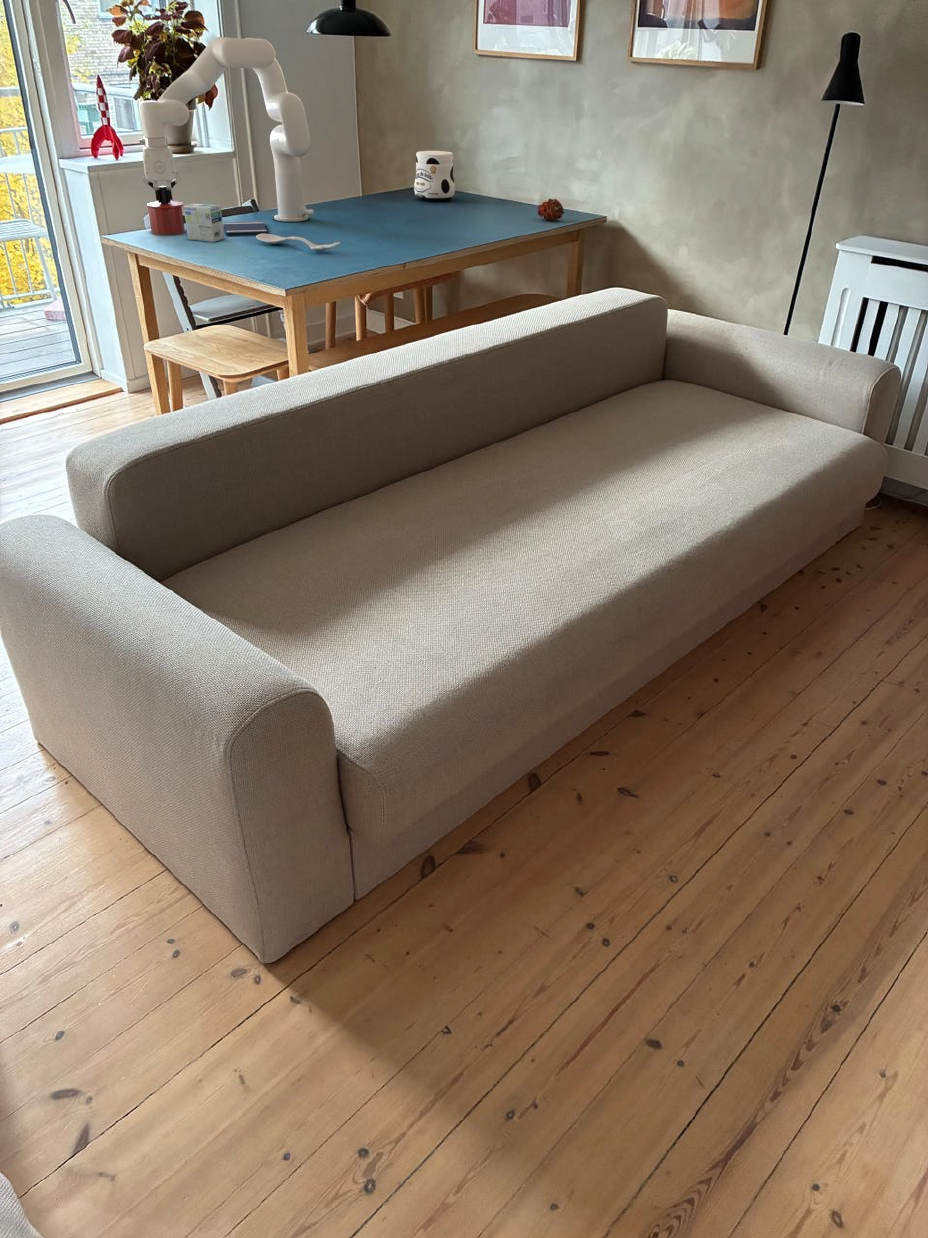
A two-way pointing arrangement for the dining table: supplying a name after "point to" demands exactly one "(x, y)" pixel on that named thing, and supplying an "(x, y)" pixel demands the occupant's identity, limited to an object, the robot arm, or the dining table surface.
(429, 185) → the milk container
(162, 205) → the pot lid
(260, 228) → the blue-grey flat slab
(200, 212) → the light bulb box
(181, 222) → the pot
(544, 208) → the red-brown bumpy ovoid
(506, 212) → the dining table surface
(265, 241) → the spoon
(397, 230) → the dining table surface
